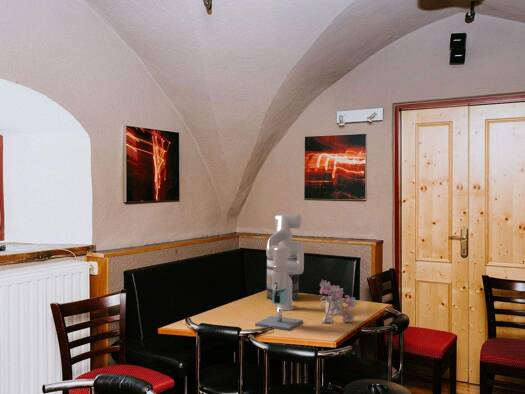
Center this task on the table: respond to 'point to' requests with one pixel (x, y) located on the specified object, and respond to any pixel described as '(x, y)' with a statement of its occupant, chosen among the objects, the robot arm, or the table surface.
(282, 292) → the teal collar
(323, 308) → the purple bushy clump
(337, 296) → the flower
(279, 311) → the duct stub
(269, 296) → the barrel
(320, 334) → the table surface
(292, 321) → the base plate
